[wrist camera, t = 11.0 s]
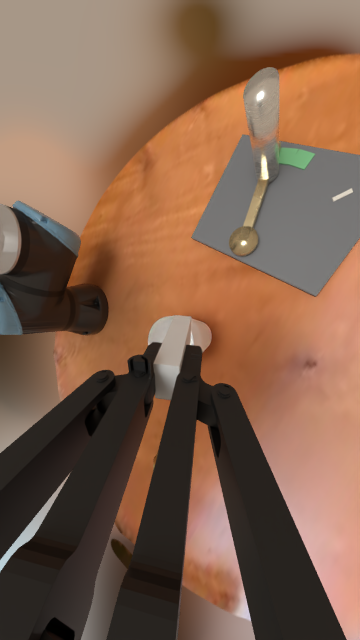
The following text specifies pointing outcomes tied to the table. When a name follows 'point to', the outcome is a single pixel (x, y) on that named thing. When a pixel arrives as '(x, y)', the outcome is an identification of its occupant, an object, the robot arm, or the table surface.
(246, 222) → the tuning peg
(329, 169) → the dial board
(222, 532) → the table surface
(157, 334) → the cup
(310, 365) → the table surface
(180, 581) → the robot arm
